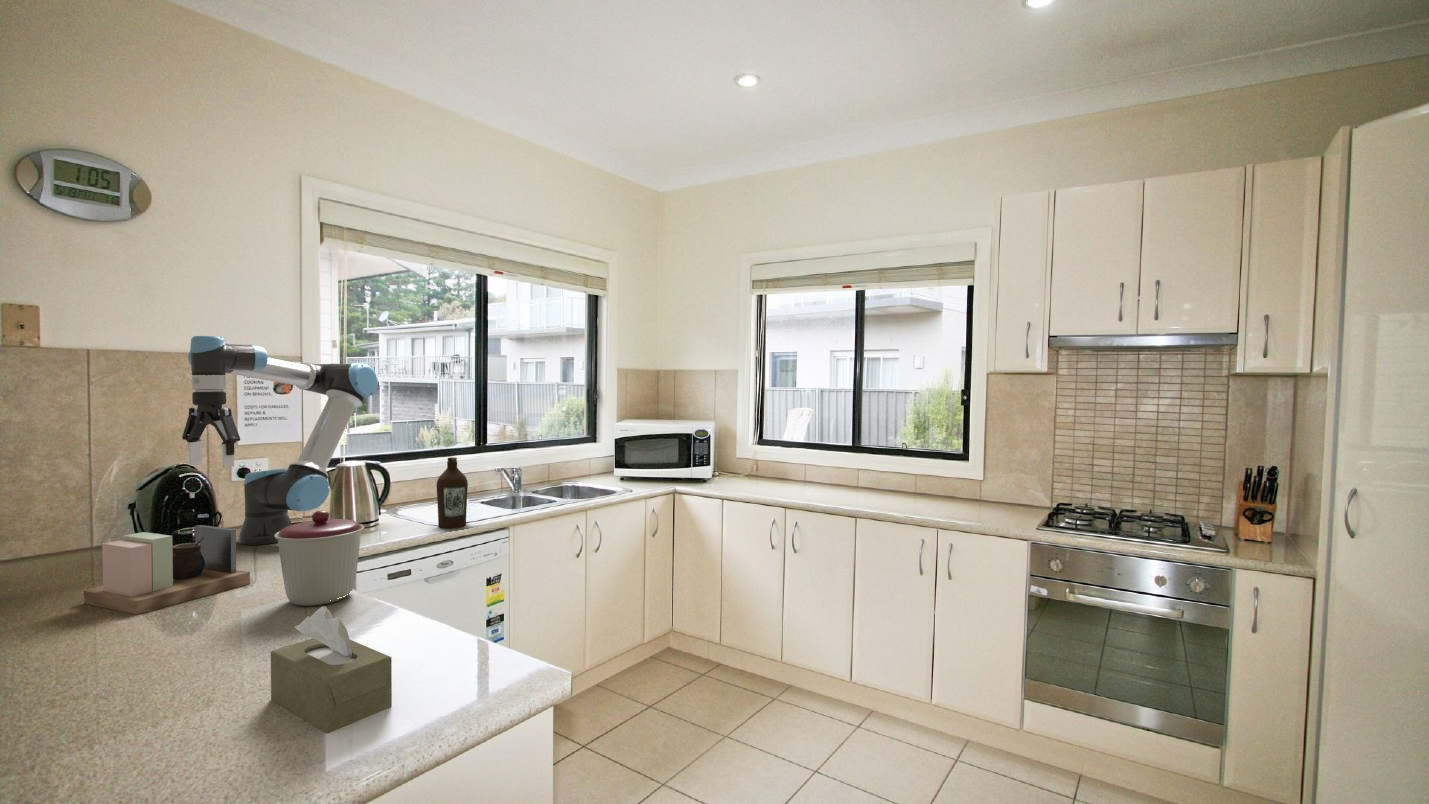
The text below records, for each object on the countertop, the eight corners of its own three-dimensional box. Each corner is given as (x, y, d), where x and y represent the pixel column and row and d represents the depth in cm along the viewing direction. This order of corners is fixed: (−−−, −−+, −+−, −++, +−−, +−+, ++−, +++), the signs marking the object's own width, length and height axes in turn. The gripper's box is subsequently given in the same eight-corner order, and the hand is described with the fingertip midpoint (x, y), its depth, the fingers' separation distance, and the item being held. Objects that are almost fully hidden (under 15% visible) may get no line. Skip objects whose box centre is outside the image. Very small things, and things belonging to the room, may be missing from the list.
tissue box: (269, 700, 102) (268, 602, 102) (333, 677, 110) (332, 586, 110) (327, 735, 92) (326, 627, 92) (393, 707, 100) (393, 607, 100)
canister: (314, 616, 139) (313, 520, 139) (255, 607, 145) (254, 515, 145) (381, 591, 157) (381, 506, 156) (327, 584, 162) (326, 502, 162)
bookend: (200, 566, 167) (200, 525, 167) (236, 572, 162) (235, 529, 162) (195, 567, 166) (195, 525, 166) (231, 573, 161) (230, 530, 161)
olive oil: (434, 524, 235) (433, 457, 234) (464, 521, 240) (464, 455, 240) (439, 530, 226) (439, 459, 225) (470, 526, 232) (470, 458, 231)
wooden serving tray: (199, 575, 170) (199, 564, 170) (249, 583, 162) (249, 572, 162) (83, 603, 147) (83, 590, 147) (136, 614, 140) (136, 601, 140)
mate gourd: (174, 574, 160) (174, 534, 160) (211, 572, 163) (211, 533, 163) (161, 582, 153) (161, 541, 153) (199, 579, 156) (200, 539, 156)
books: (144, 581, 154) (143, 532, 154) (172, 586, 150) (172, 535, 150) (102, 590, 147) (102, 539, 147) (131, 596, 143) (131, 543, 143)
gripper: (164, 390, 180) (167, 465, 181) (225, 391, 172) (228, 469, 172) (194, 390, 187) (196, 462, 188) (253, 390, 179) (256, 466, 180)
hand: (211, 465), depth 180 cm, fingers open, 13 cm apart
